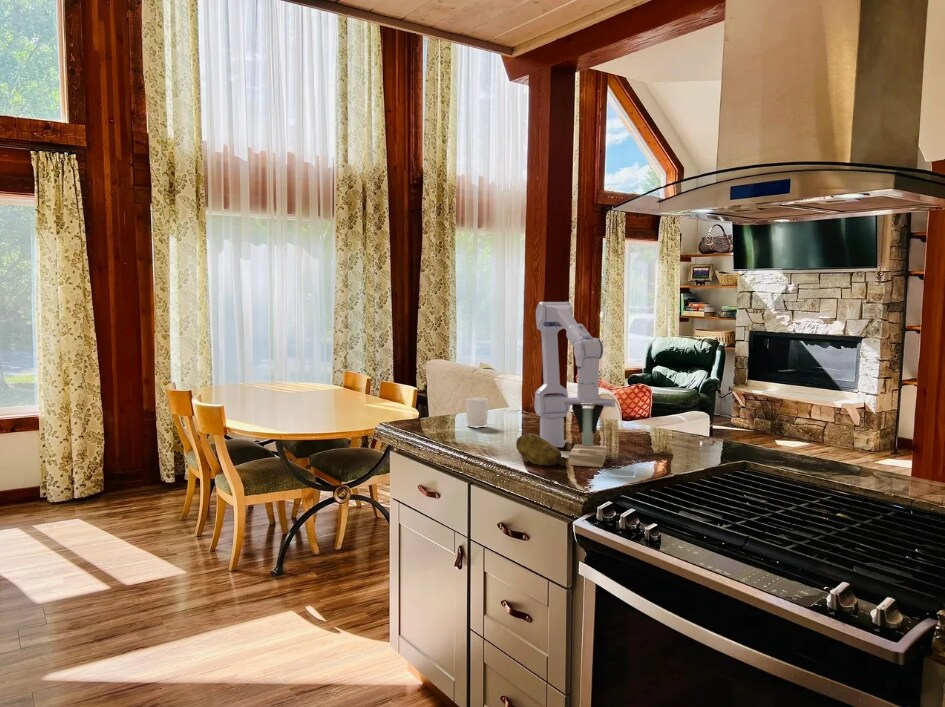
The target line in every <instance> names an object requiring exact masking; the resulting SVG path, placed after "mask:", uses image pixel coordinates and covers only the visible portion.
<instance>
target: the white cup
mask: <svg viewBox="0 0 945 707" xmlns="http://www.w3.org/2000/svg"><path fill="white" fill-rule="evenodd" d="M465 410H466V413H465V414H466V421H467V422H466V423H467V427H468V426H484V425H487V424H488V413H489V398H488V397H479V396H476V397H467V398H465ZM487 426H488V425H487Z"/></svg>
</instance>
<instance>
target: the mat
mask: <svg viewBox="0 0 945 707" xmlns="http://www.w3.org/2000/svg"><path fill="white" fill-rule="evenodd" d="M559 451H560V452H561V455H562V457H564V458H565V459H569V454H570V452H571V451H566V450H559Z"/></svg>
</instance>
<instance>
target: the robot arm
mask: <svg viewBox="0 0 945 707" xmlns="http://www.w3.org/2000/svg"><path fill="white" fill-rule="evenodd" d="M573 314H574V309H573V306H572V304H571V302H570V301H540V302H538V304H537V306H536V309H535V322H536V329H537V330H539V331H540V333H541V334H540V335H541V354H542V355H541V356H542V373H543V374H542V378H543V383H542V385H541V386H540V387H539V388H537V390H535V393H534V395H535V396H534V402H533V403H534V404H533V408H534V412H535V414H536V415H537V416H539V417H540V418H539V436H540V437H541V438H542V439H544V440H546V441H547V442H548V443H550V444H551V445H553V446H554V447H556V448H564V446H565V445H566V444H565V443H567V441H568V440H566V439H564V436H565V435H564V434H565V430H564V428H565V426H564V425H565V422H564V421H565V420H564V419H565V418H566V416H567V415H568V413H569V412H570V409H571V410H572V413H573V414H574V416H575V420H576V422H577V427H578V431H579V434H580V433H581V434H582V409H583V408H584V407H592V409H593V434H596V432H597V428H598V422H599V420H600V416H601V414H602V412H603V410H604V408H606V407H607V408H608V407H610V408H615V407H616V398H615V399H614V398H613V399H611V398H602V397H601V398H600V397H599V389H600V387H599V386H600V384H599V383H600V381H599V380H600V378H599V377H600V371H599V370H600V360H601V359H602V357H603V355H604V345H603V342H602V340H601V338H597V337H593V336H592V335H591V334H590V333H589V331H588V330H587V328H586V327H585V326H584V324H583V323H578V322H577V321H576V319H575V317H574V316H573ZM562 329H563V330H565V331H566V333H565V334H566V339H567V340H568V342H569V343H570V344H571V345H572V347H573V354H574V357H575V365H576V366H577V396H576V397H569V393H568V390H567V388H566V387H564V386H563V385H561V380H560V379H561V378H560V362H559V359H560V358H559V341H558V339H559V337H558V333H559V331H561V330H562ZM571 407H572V408H571ZM564 417H565V418H564Z"/></svg>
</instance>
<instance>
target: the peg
mask: <svg viewBox="0 0 945 707" xmlns="http://www.w3.org/2000/svg"><path fill="white" fill-rule="evenodd" d="M581 441H582V442H581V445H583V446H593V445H594V433H593V407H591V408H590V407H585V408H584V407H583V409H582V433H581Z"/></svg>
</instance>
